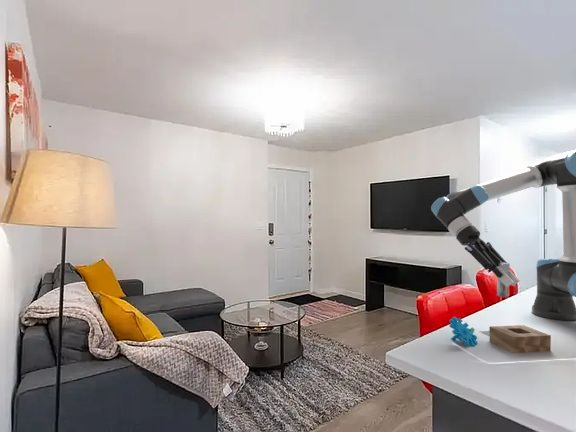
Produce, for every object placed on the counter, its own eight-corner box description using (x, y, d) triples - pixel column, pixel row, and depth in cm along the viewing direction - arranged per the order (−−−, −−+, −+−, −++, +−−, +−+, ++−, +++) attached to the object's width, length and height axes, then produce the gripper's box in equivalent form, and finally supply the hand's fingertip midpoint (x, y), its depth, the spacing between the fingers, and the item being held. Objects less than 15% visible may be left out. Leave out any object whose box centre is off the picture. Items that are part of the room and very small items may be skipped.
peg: (503, 294, 118) (504, 262, 118) (510, 297, 115) (512, 264, 115) (494, 294, 118) (496, 262, 118) (501, 297, 115) (503, 264, 115)
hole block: (523, 340, 113) (523, 325, 113) (550, 352, 103) (550, 335, 103) (489, 342, 111) (489, 326, 111) (513, 354, 101) (513, 337, 101)
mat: (505, 331, 122) (505, 330, 122) (523, 339, 114) (523, 338, 114) (479, 332, 120) (479, 331, 120) (495, 340, 113) (495, 339, 113)
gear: (466, 345, 104) (446, 315, 110) (452, 355, 107) (433, 325, 114) (486, 343, 109) (467, 315, 116) (472, 353, 113) (454, 325, 119)
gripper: (469, 237, 135) (516, 288, 120) (444, 239, 126) (491, 293, 112) (483, 224, 130) (534, 274, 116) (458, 224, 121) (509, 279, 107)
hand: (513, 283), depth 114 cm, fingers closed on peg, 3 cm apart
